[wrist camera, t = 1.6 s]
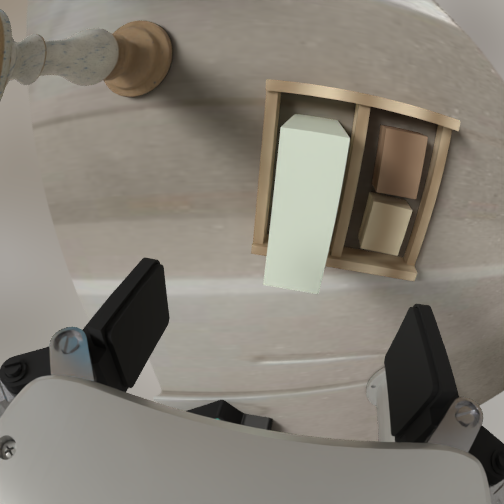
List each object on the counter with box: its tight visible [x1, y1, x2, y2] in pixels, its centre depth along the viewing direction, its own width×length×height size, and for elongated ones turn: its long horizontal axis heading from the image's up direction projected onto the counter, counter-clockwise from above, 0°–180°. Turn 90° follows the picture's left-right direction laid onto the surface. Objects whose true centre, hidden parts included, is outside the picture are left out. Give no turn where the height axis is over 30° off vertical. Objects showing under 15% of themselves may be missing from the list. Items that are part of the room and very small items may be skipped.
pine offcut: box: [358, 192, 412, 256], centre depth 29 cm, size 4×5×3 cm
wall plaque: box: [186, 400, 272, 430], centre depth 58 cm, size 30×4×30 cm
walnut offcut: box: [372, 125, 428, 199], centre depth 26 cm, size 4×6×3 cm, turn 178°
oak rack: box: [251, 79, 460, 281], centre depth 27 cm, size 18×17×3 cm
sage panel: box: [263, 114, 350, 294], centre depth 24 cm, size 4×11×12 cm, turn 175°
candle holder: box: [0, 9, 172, 100], centre depth 18 cm, size 9×9×20 cm
